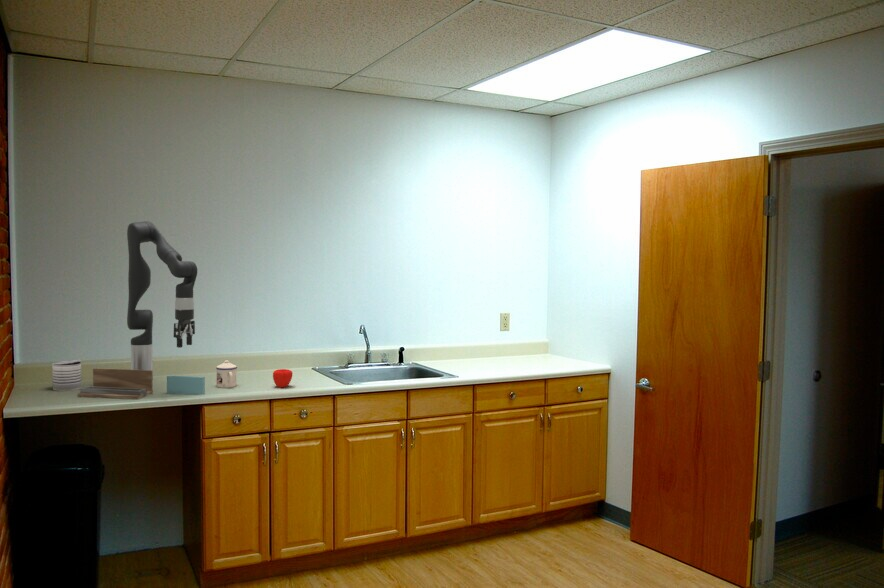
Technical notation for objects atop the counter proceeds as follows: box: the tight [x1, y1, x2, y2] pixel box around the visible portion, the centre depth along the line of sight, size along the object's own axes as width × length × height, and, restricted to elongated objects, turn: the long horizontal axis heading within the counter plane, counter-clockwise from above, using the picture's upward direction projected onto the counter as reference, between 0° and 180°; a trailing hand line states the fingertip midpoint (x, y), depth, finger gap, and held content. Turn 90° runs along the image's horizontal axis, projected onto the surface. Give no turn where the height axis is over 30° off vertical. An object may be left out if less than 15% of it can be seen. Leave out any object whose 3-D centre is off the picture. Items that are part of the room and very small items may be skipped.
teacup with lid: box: [215, 360, 238, 389], centre depth 318 cm, size 12×9×12 cm
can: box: [51, 359, 82, 391], centre depth 307 cm, size 11×11×12 cm
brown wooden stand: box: [77, 367, 154, 400], centre depth 294 cm, size 12×26×10 cm, turn 84°
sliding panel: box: [166, 374, 206, 395], centre depth 301 cm, size 2×16×8 cm, turn 84°
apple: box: [272, 368, 293, 389], centre depth 321 cm, size 9×9×8 cm
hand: (184, 346), depth 300 cm, fingers open, 8 cm apart
